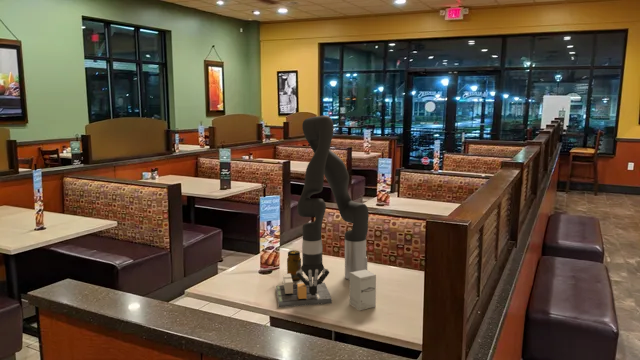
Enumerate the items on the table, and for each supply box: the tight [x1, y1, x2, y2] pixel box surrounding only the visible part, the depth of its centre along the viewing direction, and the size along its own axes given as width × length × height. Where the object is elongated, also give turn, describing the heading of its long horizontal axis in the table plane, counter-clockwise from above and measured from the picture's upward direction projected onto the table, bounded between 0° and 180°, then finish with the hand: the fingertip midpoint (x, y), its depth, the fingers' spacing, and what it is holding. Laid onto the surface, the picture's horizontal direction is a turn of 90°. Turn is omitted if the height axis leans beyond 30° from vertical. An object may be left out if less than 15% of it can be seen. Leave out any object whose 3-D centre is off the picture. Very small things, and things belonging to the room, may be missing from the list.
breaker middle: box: [284, 279, 294, 294], centre depth 189 cm, size 3×4×4 cm
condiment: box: [286, 250, 308, 284], centre depth 209 cm, size 7×8×12 cm
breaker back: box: [282, 273, 292, 288], centre depth 195 cm, size 3×4×4 cm
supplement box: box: [349, 269, 377, 311], centre depth 180 cm, size 7×7×13 cm
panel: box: [275, 282, 333, 308], centre depth 190 cm, size 20×17×2 cm
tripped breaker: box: [296, 282, 307, 299], centre depth 184 cm, size 3×4×4 cm
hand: (313, 294), depth 184 cm, fingers closed
